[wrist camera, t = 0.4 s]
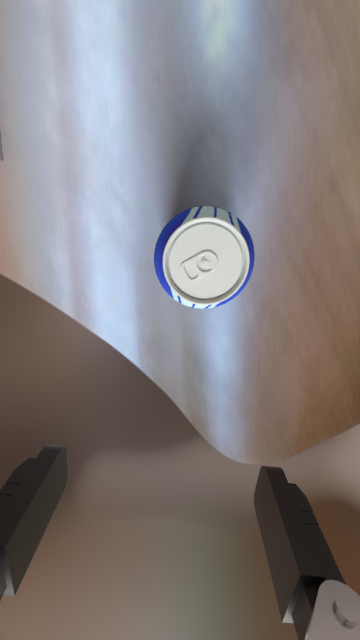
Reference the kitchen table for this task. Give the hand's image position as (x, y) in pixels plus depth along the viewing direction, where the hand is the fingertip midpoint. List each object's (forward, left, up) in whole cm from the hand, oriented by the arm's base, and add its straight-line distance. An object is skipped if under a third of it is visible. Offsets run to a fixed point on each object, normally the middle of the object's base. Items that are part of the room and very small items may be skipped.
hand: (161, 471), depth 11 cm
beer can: (-7, +2, -28) cm, 29 cm away
